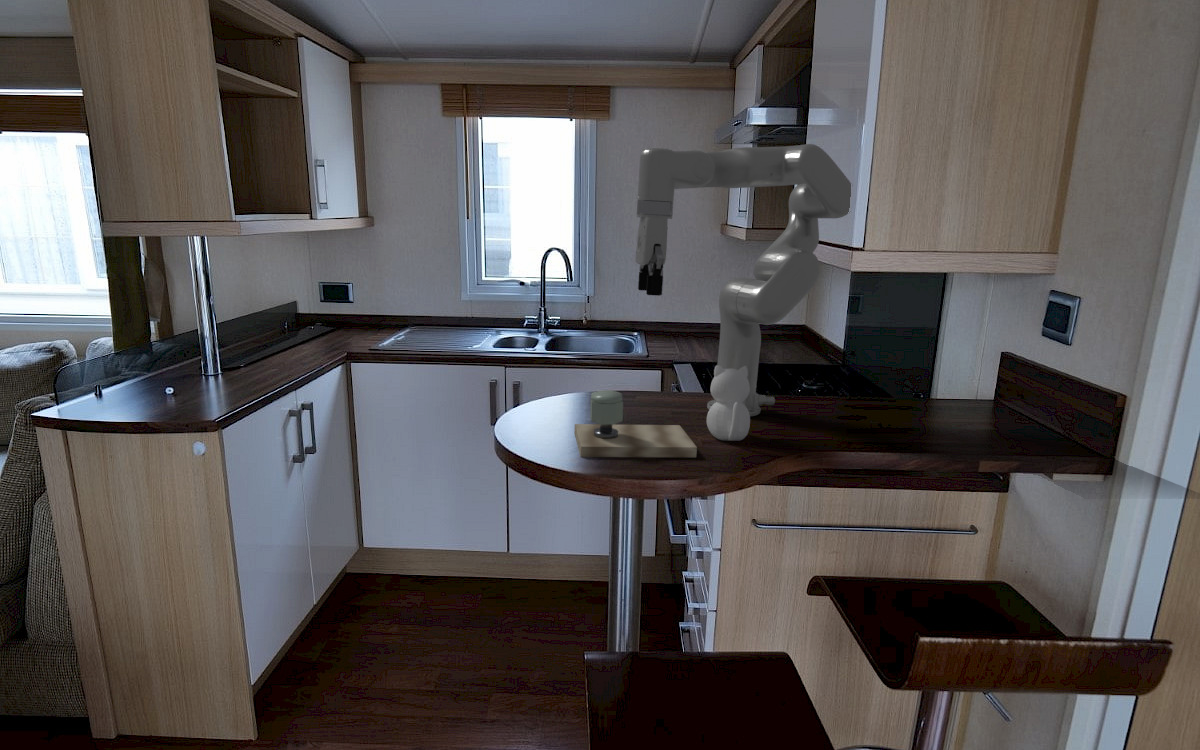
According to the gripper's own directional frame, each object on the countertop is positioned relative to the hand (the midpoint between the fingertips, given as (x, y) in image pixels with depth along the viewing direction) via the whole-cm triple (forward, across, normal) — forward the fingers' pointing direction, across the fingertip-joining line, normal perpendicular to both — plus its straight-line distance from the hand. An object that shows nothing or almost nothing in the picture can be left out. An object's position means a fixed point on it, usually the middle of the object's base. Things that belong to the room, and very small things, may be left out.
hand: (649, 292), depth 143 cm
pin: (+26, +18, -10) cm, 34 cm away
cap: (+23, +18, -10) cm, 31 cm away
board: (+28, +18, -5) cm, 34 cm away
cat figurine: (+28, +13, +16) cm, 35 cm away
